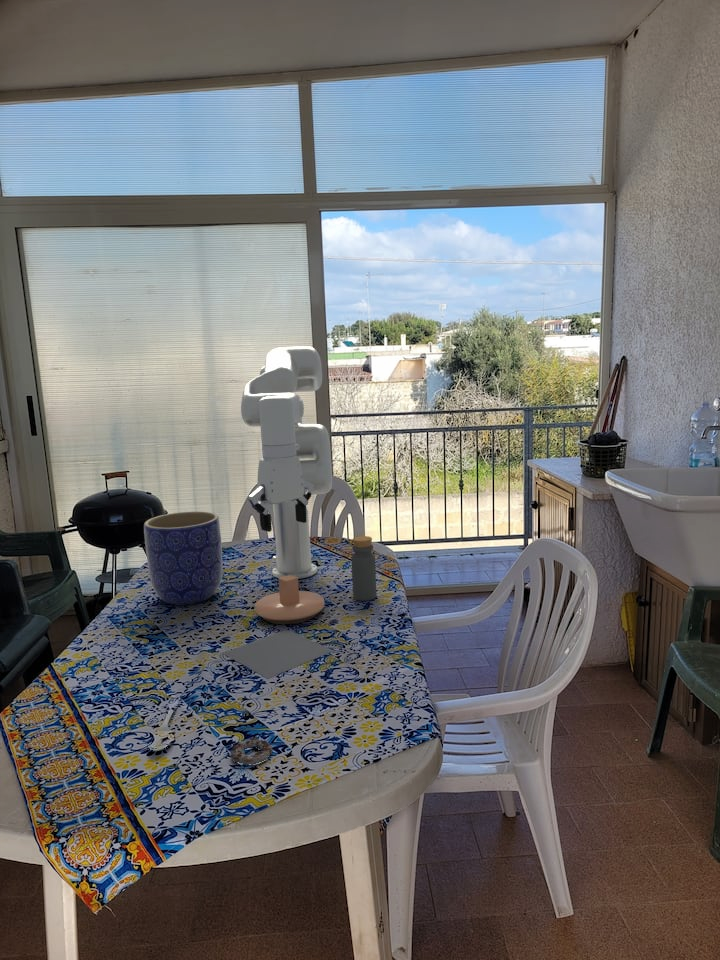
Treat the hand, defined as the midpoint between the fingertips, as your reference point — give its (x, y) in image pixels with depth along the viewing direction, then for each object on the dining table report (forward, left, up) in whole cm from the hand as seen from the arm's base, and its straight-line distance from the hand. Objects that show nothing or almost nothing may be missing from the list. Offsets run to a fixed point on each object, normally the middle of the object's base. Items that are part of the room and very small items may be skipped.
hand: (284, 526), depth 149 cm
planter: (-30, -10, -22) cm, 38 cm away
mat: (+15, -14, -21) cm, 30 cm away
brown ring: (0, 0, -22) cm, 22 cm away
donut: (+41, -37, -22) cm, 60 cm away
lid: (0, 0, -19) cm, 19 cm away
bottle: (+4, +20, -22) cm, 30 cm away
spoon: (+22, -41, -22) cm, 52 cm away
